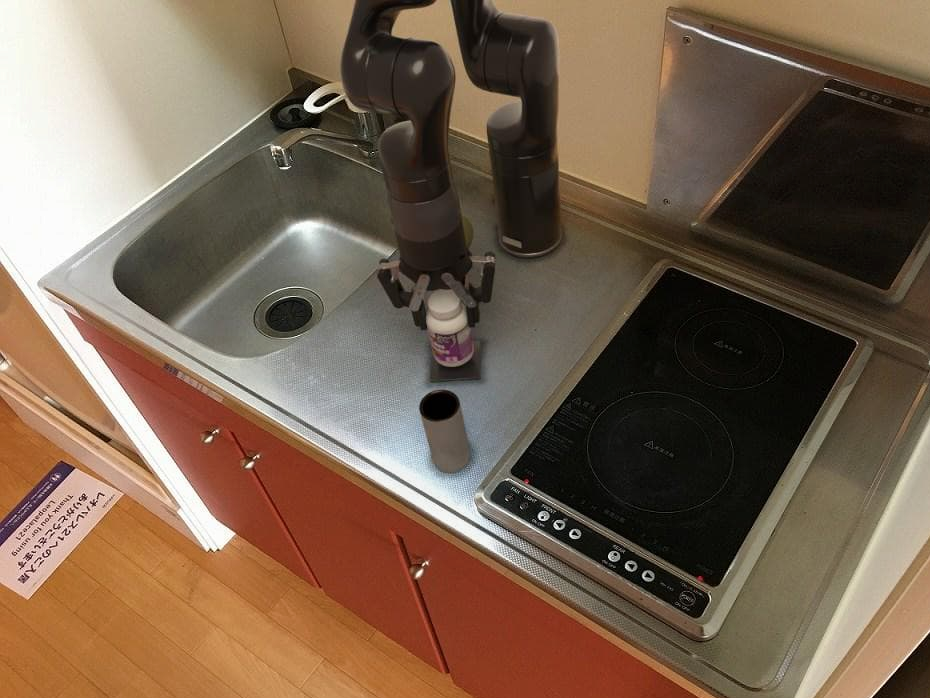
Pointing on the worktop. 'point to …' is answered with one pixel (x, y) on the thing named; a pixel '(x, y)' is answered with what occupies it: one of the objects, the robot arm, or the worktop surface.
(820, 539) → the worktop surface
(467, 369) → the metal coaster
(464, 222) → the light bulb
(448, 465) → the grey hollow cylinder
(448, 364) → the pill bottle
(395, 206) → the robot arm
